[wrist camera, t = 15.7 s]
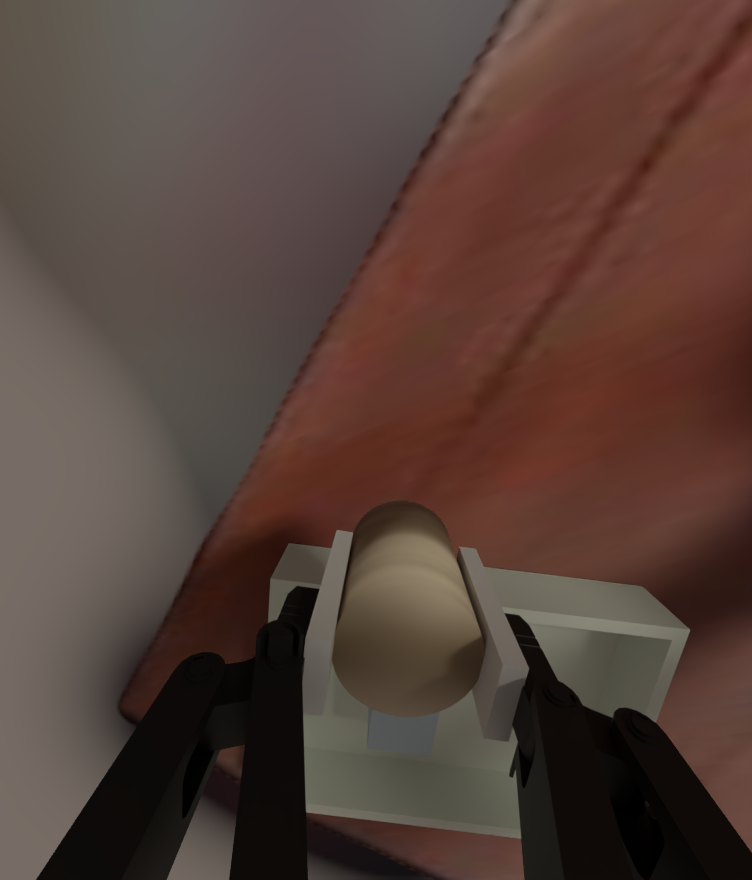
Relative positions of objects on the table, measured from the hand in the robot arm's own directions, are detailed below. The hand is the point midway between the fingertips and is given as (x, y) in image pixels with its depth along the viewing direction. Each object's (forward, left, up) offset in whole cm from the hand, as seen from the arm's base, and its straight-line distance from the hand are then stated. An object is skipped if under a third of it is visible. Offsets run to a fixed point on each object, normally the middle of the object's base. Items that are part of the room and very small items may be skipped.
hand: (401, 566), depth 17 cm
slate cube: (+18, +3, -12) cm, 22 cm away
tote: (+18, +7, -13) cm, 23 cm away
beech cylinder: (0, 0, -2) cm, 2 cm away
